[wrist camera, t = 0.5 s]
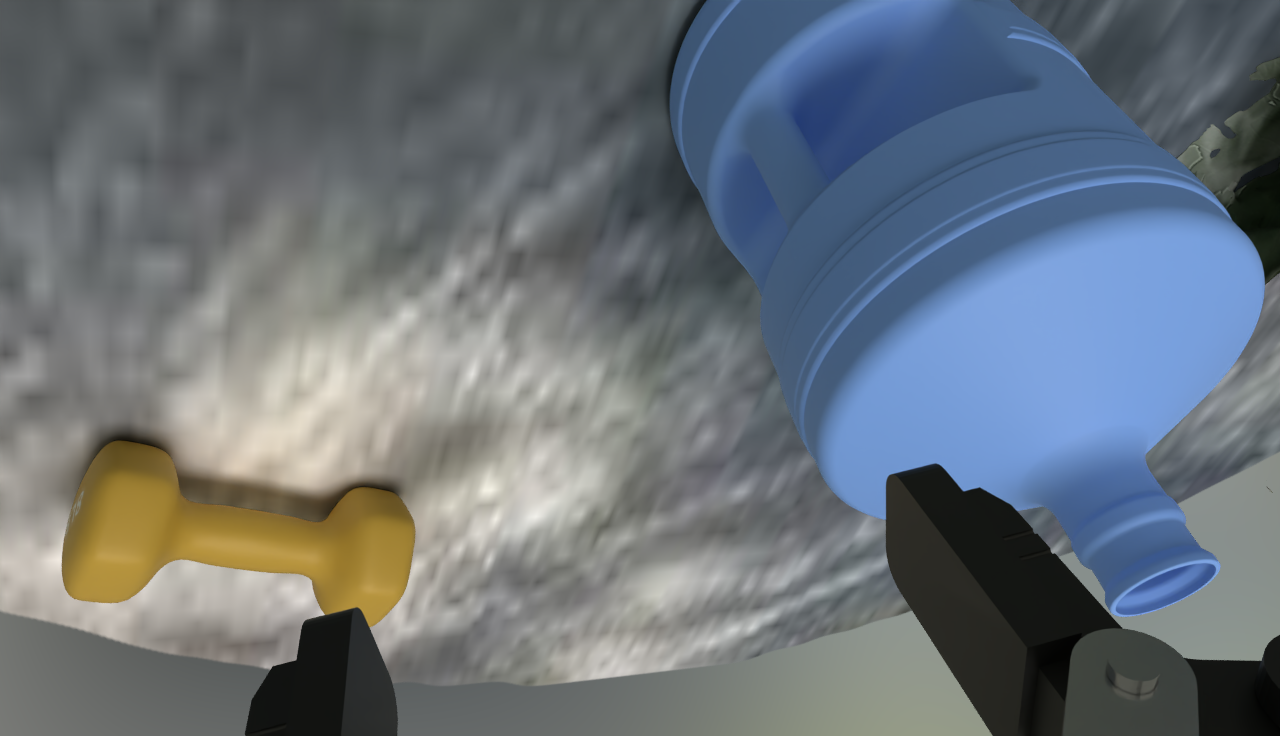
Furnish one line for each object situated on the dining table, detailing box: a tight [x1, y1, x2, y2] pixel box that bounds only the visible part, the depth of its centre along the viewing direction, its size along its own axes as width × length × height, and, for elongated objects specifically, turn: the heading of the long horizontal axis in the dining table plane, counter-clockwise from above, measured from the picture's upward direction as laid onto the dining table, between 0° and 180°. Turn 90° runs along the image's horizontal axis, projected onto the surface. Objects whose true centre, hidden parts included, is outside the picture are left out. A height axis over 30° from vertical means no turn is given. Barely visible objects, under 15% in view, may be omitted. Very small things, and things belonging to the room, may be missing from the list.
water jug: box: [670, 0, 1265, 617], centre depth 35 cm, size 16×16×28 cm
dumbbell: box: [62, 440, 415, 627], centre depth 55 cm, size 19×9×8 cm, turn 53°
